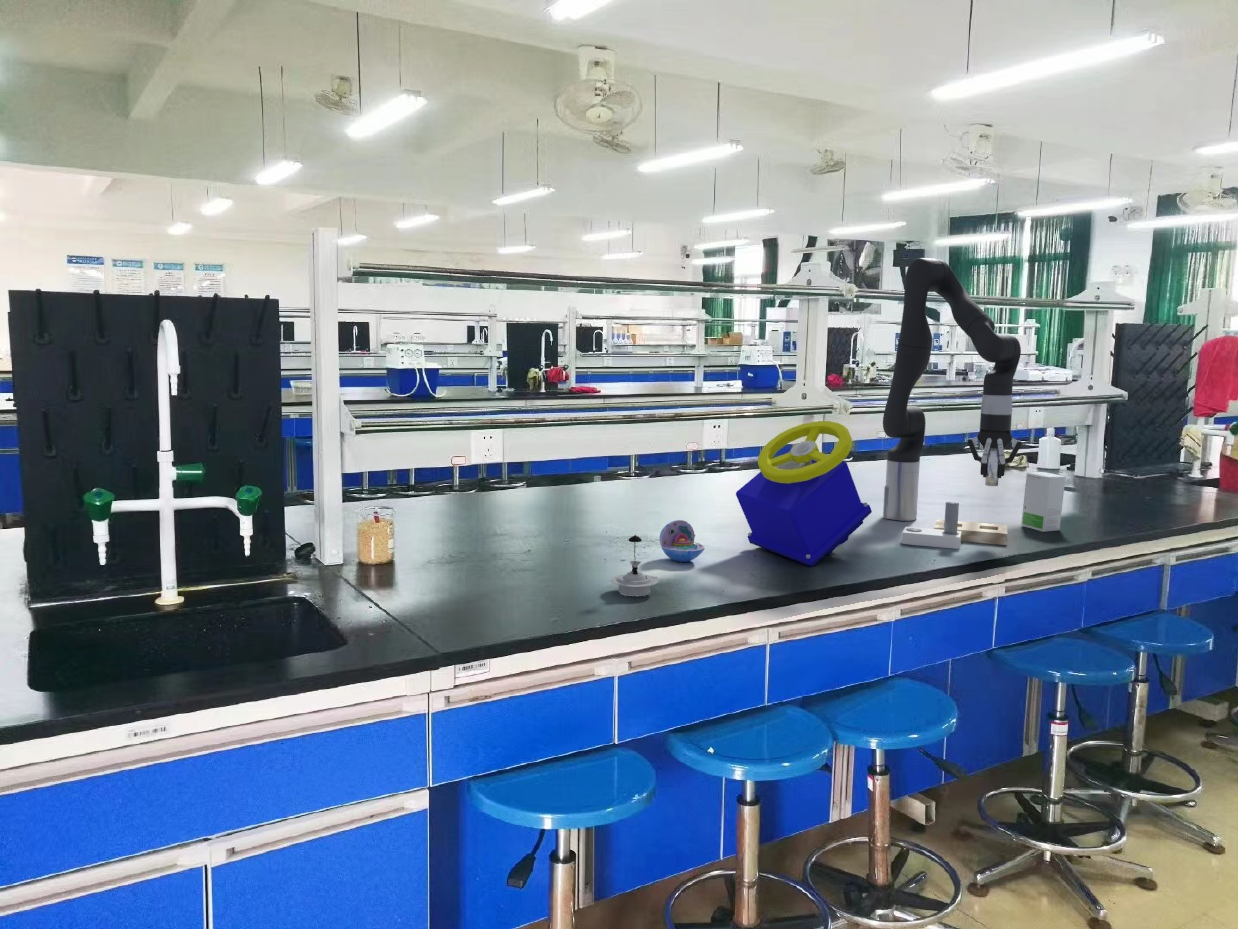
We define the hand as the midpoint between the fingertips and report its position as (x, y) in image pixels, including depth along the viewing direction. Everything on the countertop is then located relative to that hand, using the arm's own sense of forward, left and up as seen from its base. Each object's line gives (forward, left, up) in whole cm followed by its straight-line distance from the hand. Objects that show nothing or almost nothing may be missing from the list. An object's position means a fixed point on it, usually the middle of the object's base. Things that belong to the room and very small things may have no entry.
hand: (992, 477), depth 238 cm
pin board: (-5, 0, -17) cm, 17 cm away
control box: (-41, -41, -17) cm, 60 cm away
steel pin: (0, 0, -2) cm, 2 cm away
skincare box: (+13, +21, -17) cm, 30 cm away
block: (-14, -12, -17) cm, 25 cm away
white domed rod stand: (-67, -87, -17) cm, 111 cm away
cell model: (-67, -57, -17) cm, 89 cm away
